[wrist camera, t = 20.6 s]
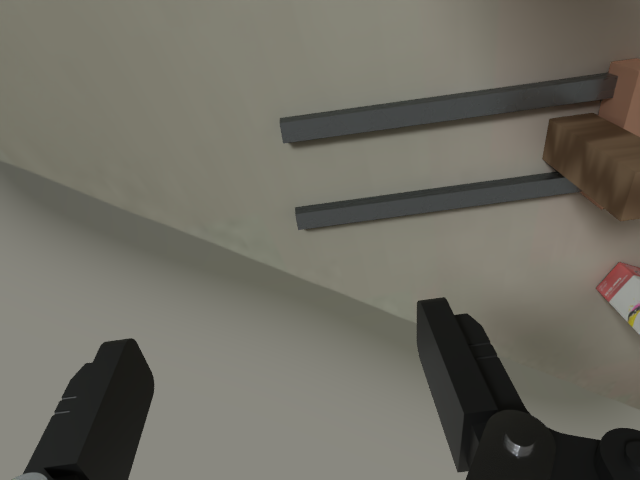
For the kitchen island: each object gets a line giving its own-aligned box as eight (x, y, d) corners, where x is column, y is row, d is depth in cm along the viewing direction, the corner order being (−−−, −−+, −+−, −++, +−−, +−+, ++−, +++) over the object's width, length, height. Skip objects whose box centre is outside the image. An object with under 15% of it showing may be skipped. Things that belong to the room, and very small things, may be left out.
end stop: (610, 61, 41) (639, 71, 38) (636, 58, 41) (666, 67, 38) (579, 192, 49) (601, 209, 46) (600, 189, 49) (623, 206, 46)
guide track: (279, 118, 42) (279, 123, 41) (608, 72, 42) (618, 76, 41) (297, 222, 49) (298, 229, 48) (581, 184, 49) (589, 190, 47)
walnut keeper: (549, 118, 44) (635, 172, 33) (592, 112, 44) (693, 164, 33) (542, 159, 47) (620, 221, 36) (583, 153, 47) (673, 213, 36)
